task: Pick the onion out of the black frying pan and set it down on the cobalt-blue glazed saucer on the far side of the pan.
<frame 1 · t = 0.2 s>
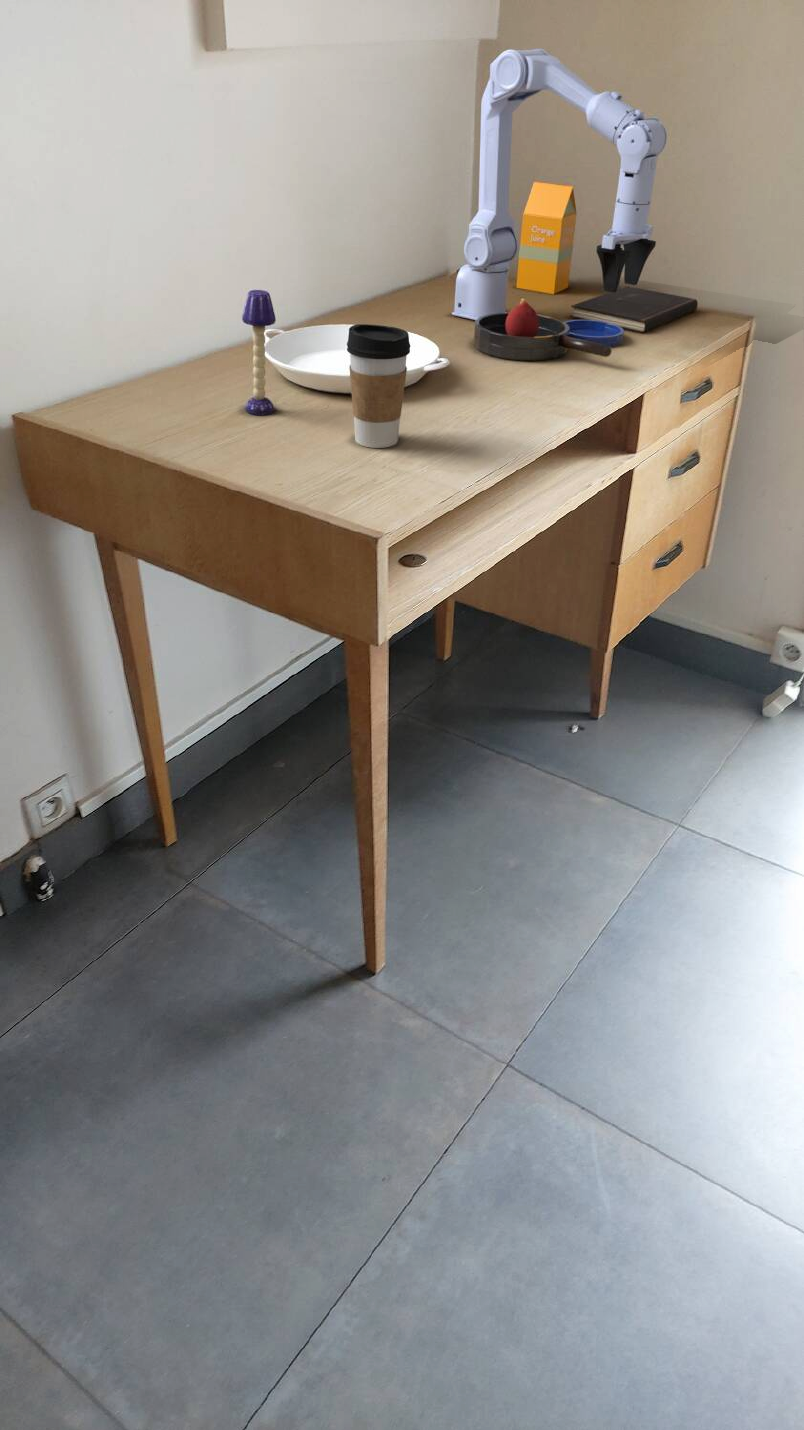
hand: (620, 287, 182), 10 cm above the table, tool pointing down, fingers open, 7 cm apart
frying pan: (519, 348, 185), on the table
hardcover book: (634, 315, 207), on the table
pan: (352, 374, 170), on the table
orange juice: (542, 288, 223), on the table
toy lamp: (262, 412, 154), on the table
saucer: (589, 338, 192), on the table
onion: (519, 347, 185), resting on frying pan
coffee cup: (376, 442, 146), on the table
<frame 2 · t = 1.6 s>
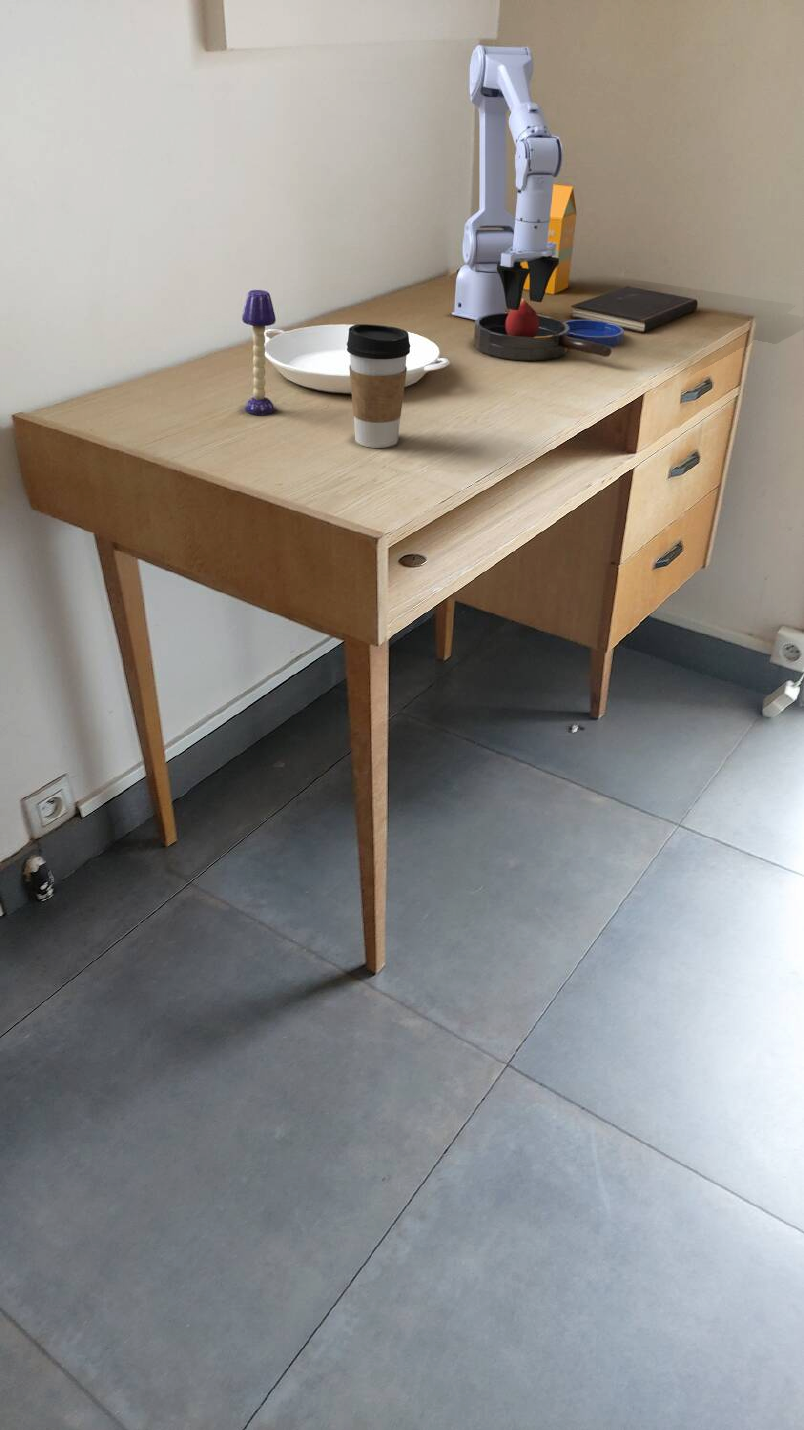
hand: (524, 305, 181), 7 cm above the table, tool pointing down, fingers open, 7 cm apart
nothing on the table moved.
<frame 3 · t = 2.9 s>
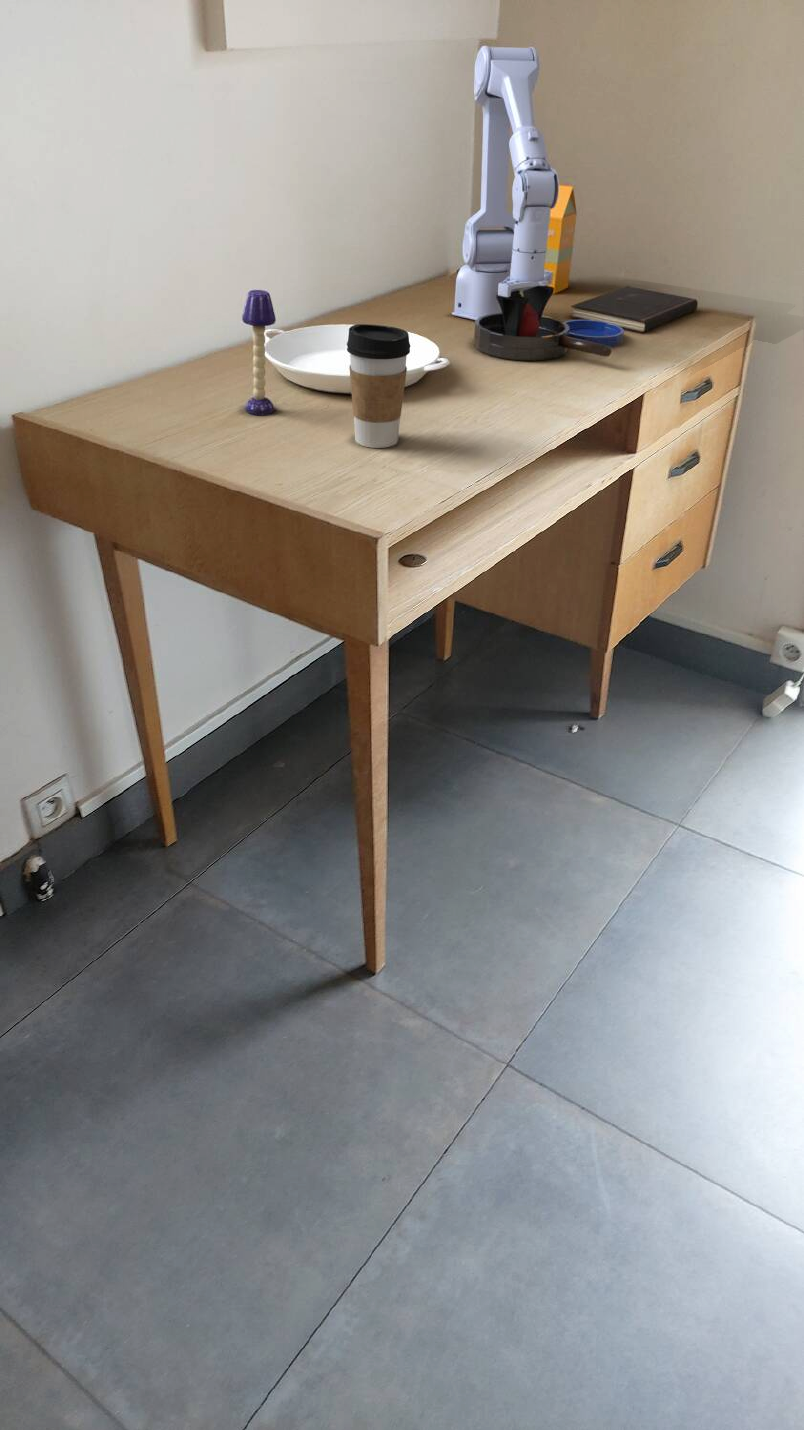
hand: (521, 332, 184), 3 cm above the table, tool pointing down, fingers closed on onion, 6 cm apart
onion: (520, 347, 185), resting on frying pan, touching gripper
everything else where it was.
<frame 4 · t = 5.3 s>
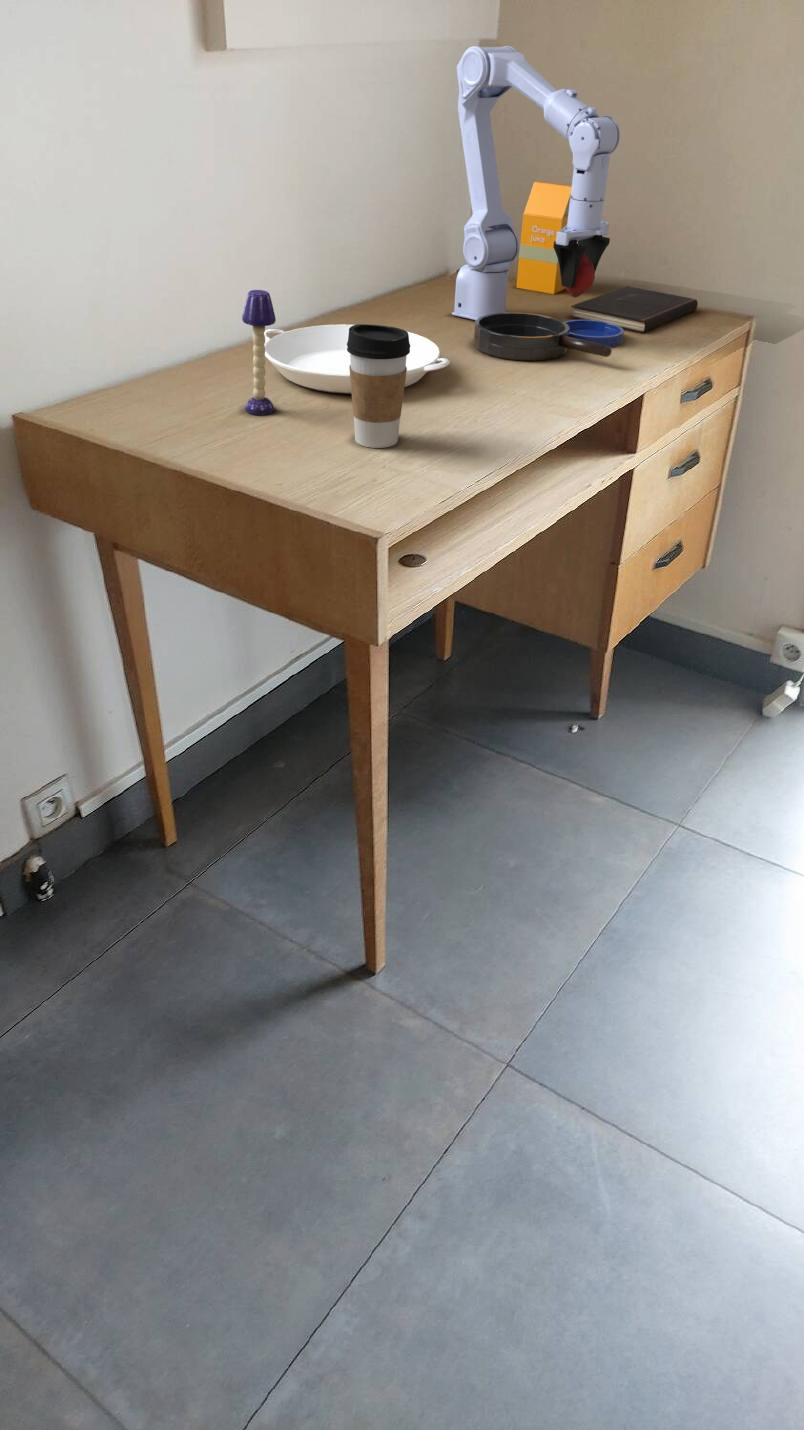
hand: (576, 283, 184), 10 cm above the table, tool pointing down, fingers closed on onion, 6 cm apart
onion: (575, 298, 186), point 7 cm above the table, touching gripper
everything else where it was.
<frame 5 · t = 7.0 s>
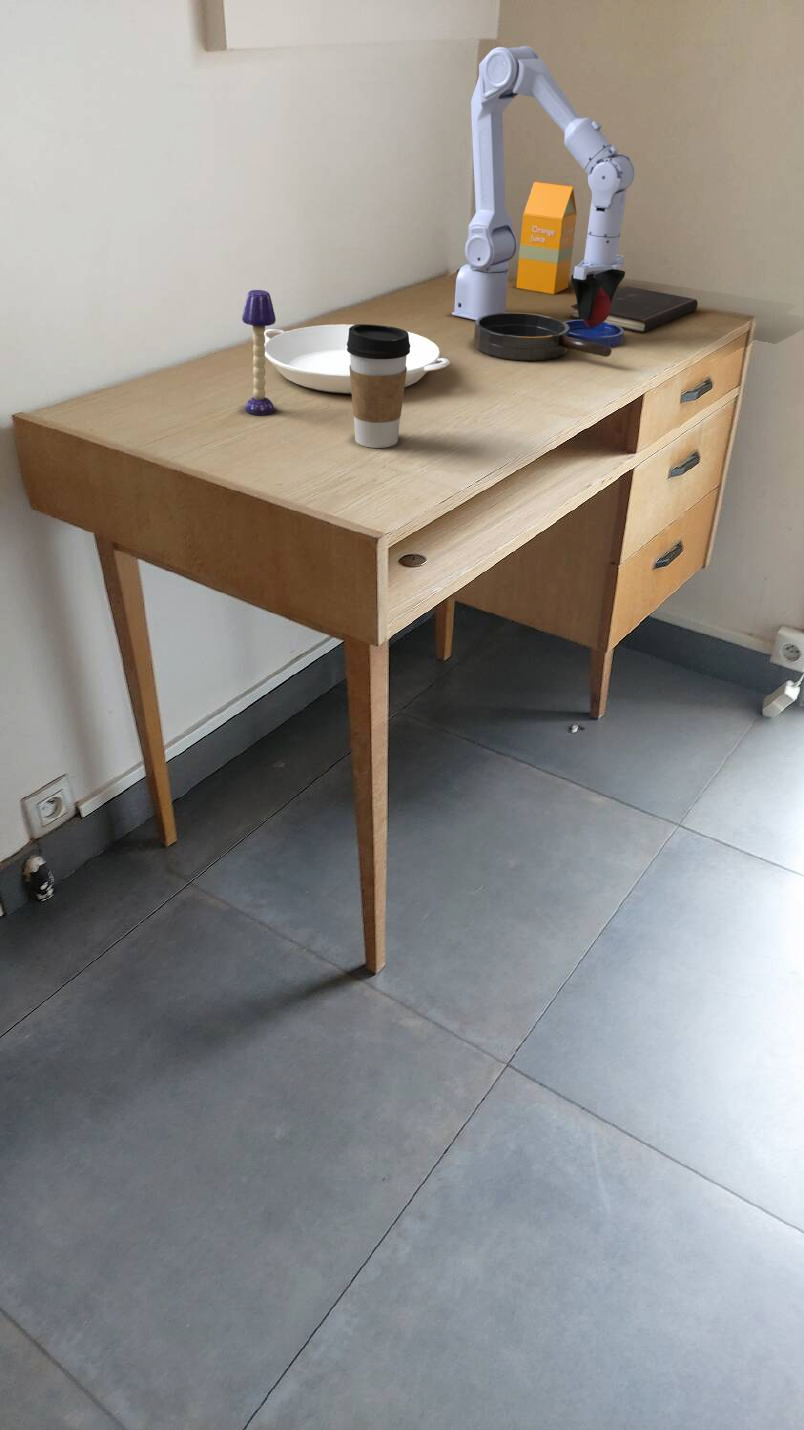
hand: (592, 315, 190), 4 cm above the table, tool pointing down, fingers closed on onion, 6 cm apart
onion: (591, 329, 191), point 2 cm above the table, touching gripper
everything else where it was.
when the fingers open (3 cm above the table, at t = 8.1 s): onion stays where it is, resting on saucer.
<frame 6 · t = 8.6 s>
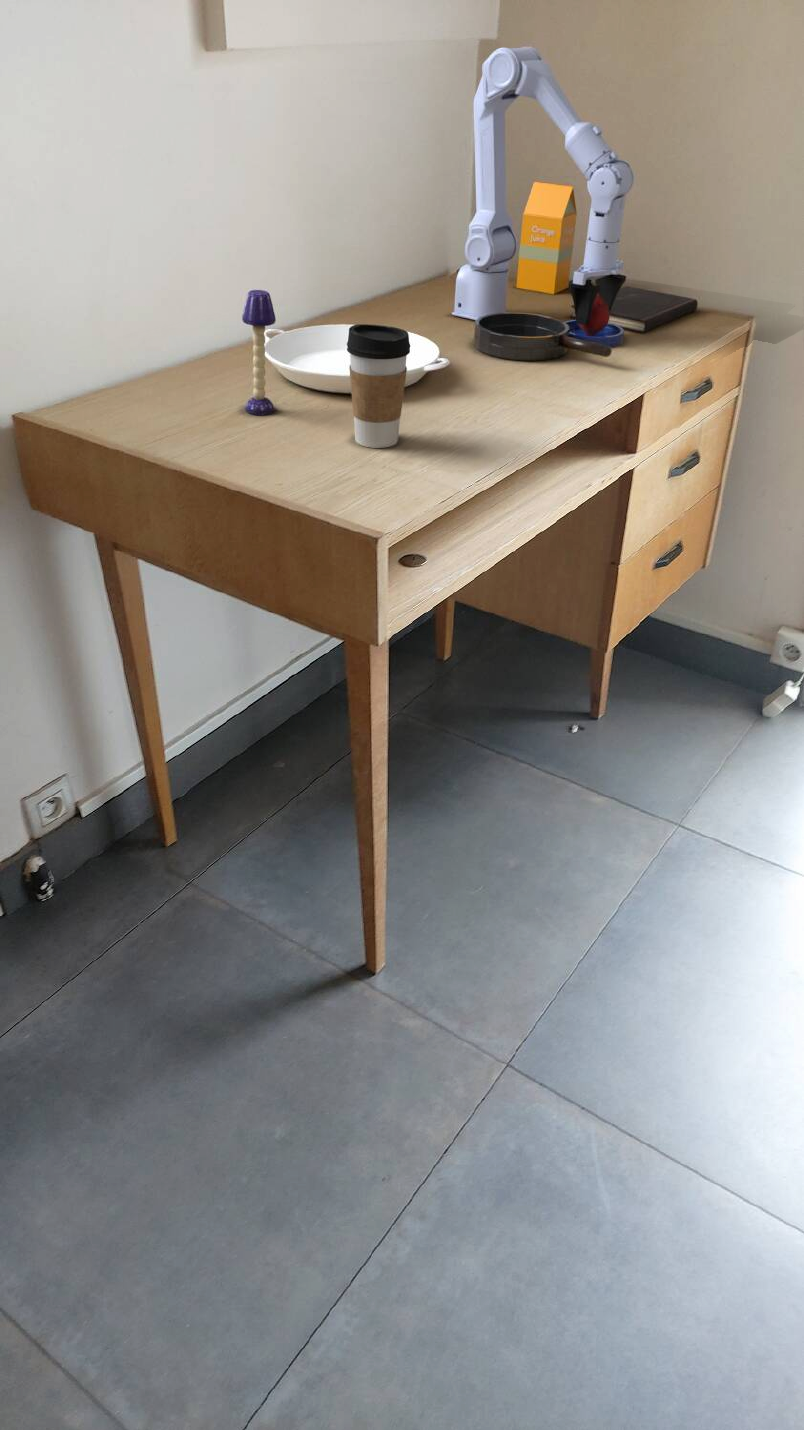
hand: (592, 320, 190), 3 cm above the table, tool pointing down, fingers open, 7 cm apart
onion: (590, 337, 192), resting on saucer
everything else where it was.
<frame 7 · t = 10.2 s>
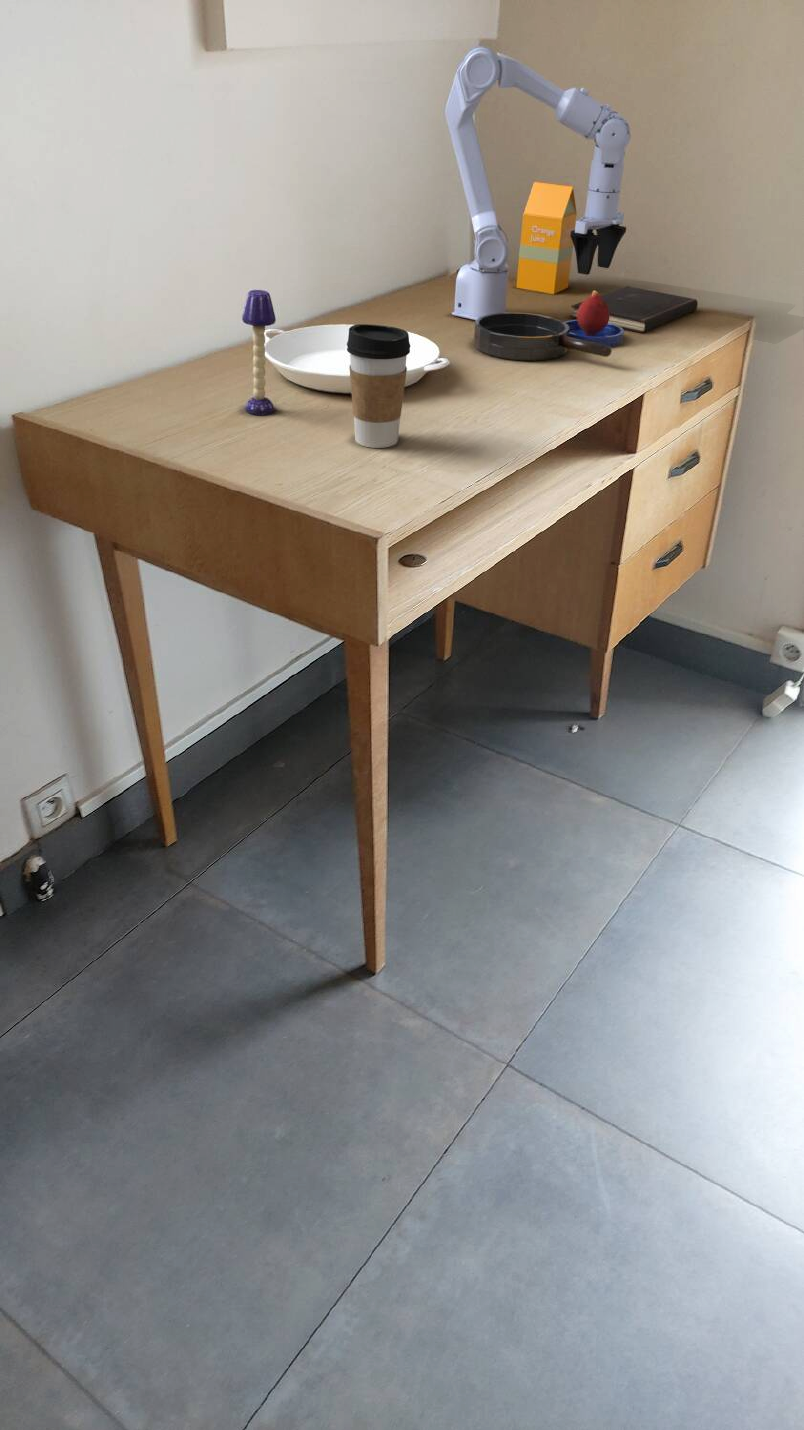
hand: (593, 270, 196), 9 cm above the table, tool pointing down, fingers open, 7 cm apart
nothing on the table moved.
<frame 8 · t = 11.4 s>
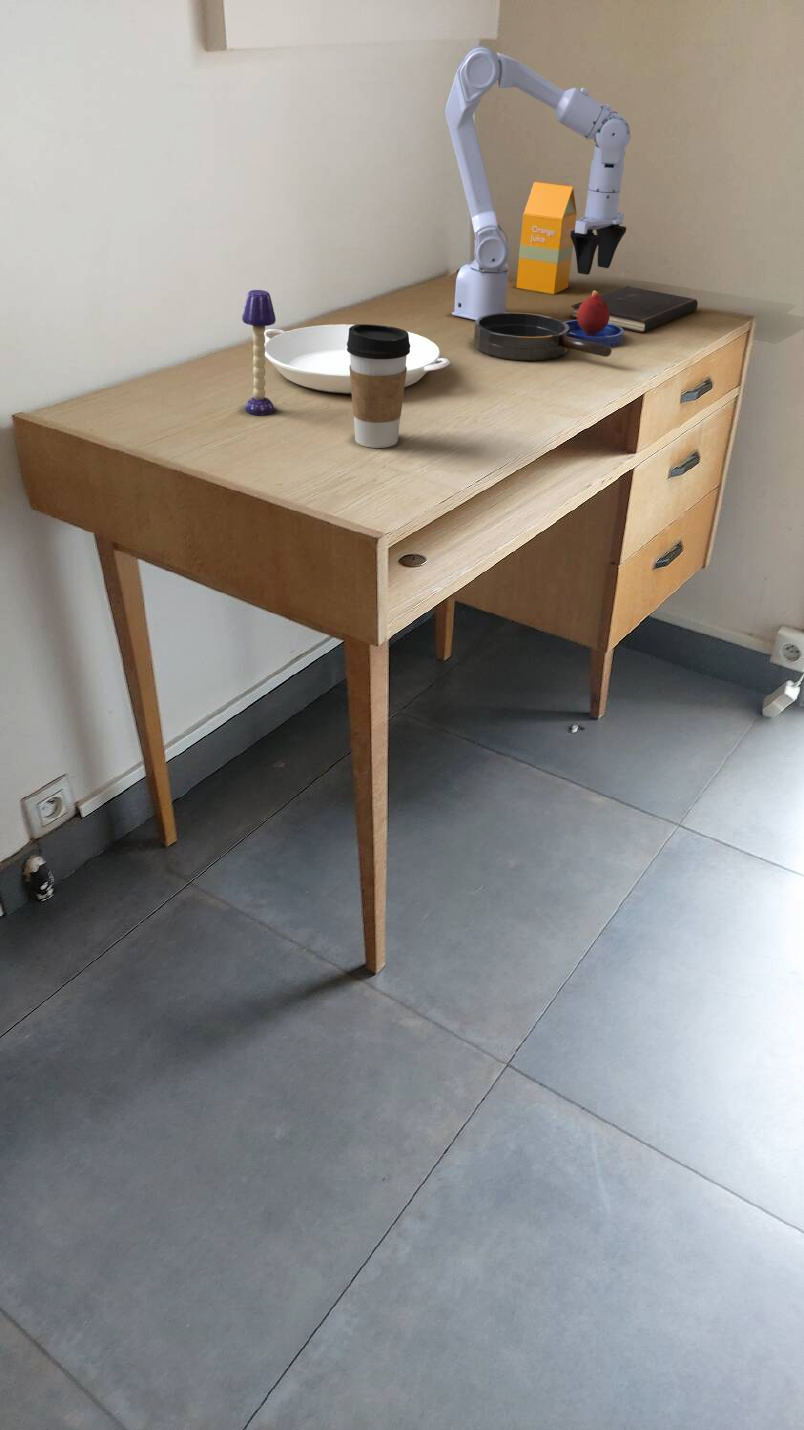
hand: (593, 270, 196), 9 cm above the table, tool pointing down, fingers open, 7 cm apart
nothing on the table moved.
at the end: onion 0.1 cm off-centre in the saucer, point 0.1 cm above the saucer's base; onion touching saucer; the gripper is holding nothing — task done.
